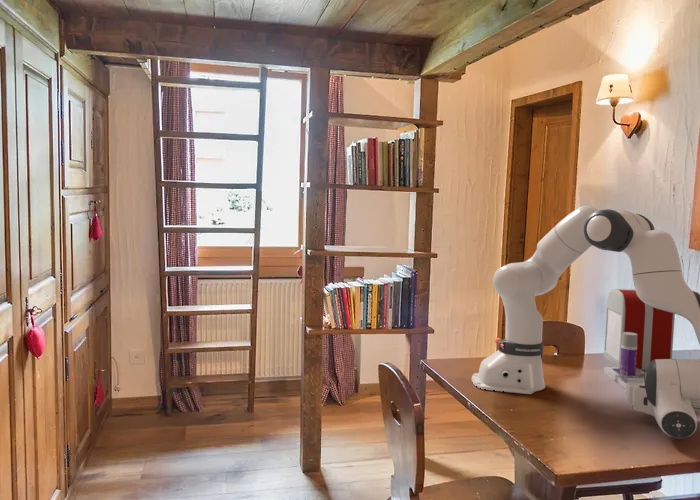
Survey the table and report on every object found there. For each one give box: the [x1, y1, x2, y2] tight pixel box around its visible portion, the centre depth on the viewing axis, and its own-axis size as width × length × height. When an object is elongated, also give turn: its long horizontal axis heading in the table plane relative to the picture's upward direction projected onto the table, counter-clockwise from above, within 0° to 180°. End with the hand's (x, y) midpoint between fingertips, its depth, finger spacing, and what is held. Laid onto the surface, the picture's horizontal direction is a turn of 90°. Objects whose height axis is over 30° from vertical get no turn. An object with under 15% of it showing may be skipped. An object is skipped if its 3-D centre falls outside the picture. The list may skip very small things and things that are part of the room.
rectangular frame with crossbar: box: [603, 366, 645, 390], centre depth 178 cm, size 21×11×2 cm, turn 176°
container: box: [620, 332, 637, 376], centre depth 182 cm, size 5×5×15 cm
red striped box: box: [603, 288, 676, 371], centre depth 200 cm, size 16×18×27 cm
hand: (665, 387), depth 155 cm, fingers open, 8 cm apart
